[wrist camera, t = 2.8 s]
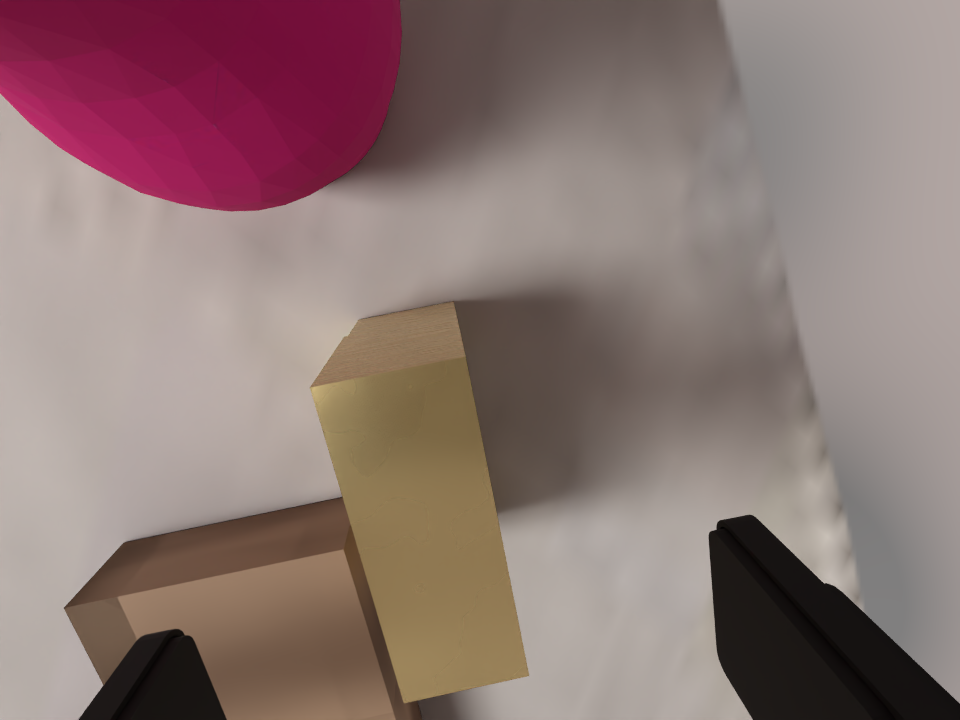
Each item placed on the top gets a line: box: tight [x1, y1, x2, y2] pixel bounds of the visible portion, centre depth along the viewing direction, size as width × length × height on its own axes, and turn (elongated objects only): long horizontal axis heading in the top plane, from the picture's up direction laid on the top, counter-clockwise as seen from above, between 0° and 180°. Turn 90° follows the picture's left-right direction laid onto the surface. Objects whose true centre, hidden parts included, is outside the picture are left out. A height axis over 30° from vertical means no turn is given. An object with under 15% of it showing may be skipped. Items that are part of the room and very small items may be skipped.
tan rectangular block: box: [310, 301, 529, 703], centre depth 14 cm, size 8×3×7 cm, turn 10°
